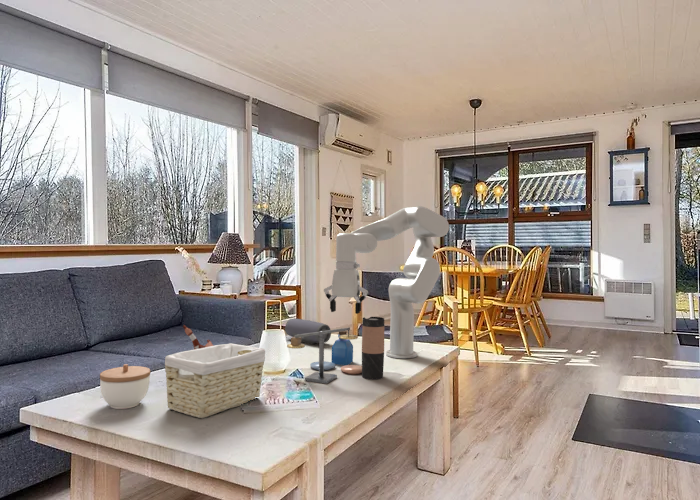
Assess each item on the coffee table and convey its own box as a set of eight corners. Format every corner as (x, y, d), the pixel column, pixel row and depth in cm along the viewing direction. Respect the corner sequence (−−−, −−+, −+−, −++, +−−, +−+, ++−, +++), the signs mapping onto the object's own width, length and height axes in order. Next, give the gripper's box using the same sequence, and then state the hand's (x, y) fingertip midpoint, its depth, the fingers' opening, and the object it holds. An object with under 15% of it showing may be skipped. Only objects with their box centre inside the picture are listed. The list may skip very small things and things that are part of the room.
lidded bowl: (117, 416, 125) (117, 373, 125) (89, 406, 132) (90, 365, 132) (159, 403, 136) (160, 363, 136) (132, 394, 143) (132, 357, 143)
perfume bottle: (331, 363, 184) (331, 332, 184) (337, 360, 190) (338, 329, 190) (346, 365, 182) (347, 333, 182) (352, 362, 188) (353, 330, 187)
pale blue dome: (316, 363, 184) (316, 360, 184) (338, 366, 180) (338, 363, 180) (305, 369, 175) (306, 365, 175) (328, 371, 172) (328, 368, 172)
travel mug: (382, 380, 162) (383, 320, 162) (359, 378, 164) (360, 319, 164) (385, 374, 170) (386, 317, 170) (363, 373, 171) (364, 316, 171)
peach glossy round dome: (346, 367, 179) (346, 363, 179) (369, 369, 176) (369, 366, 176) (336, 372, 171) (336, 369, 171) (360, 375, 167) (360, 372, 167)
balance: (293, 372, 171) (294, 320, 171) (360, 380, 162) (361, 326, 161) (281, 377, 164) (282, 324, 163) (351, 387, 154) (352, 330, 154)
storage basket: (228, 389, 150) (228, 341, 150) (267, 398, 142) (268, 348, 141) (160, 410, 130) (161, 355, 130) (201, 423, 122) (202, 364, 121)
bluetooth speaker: (332, 344, 220) (332, 322, 220) (316, 347, 213) (317, 324, 213) (299, 337, 236) (299, 316, 235) (283, 339, 229) (284, 318, 229)
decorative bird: (176, 356, 177) (193, 318, 177) (223, 375, 178) (240, 337, 179) (151, 377, 148) (171, 332, 149) (207, 400, 150) (227, 355, 150)
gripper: (371, 266, 182) (370, 312, 183) (328, 265, 188) (327, 309, 188) (365, 267, 175) (364, 315, 176) (320, 266, 181) (320, 312, 181)
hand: (345, 312), depth 182 cm, fingers open, 9 cm apart
